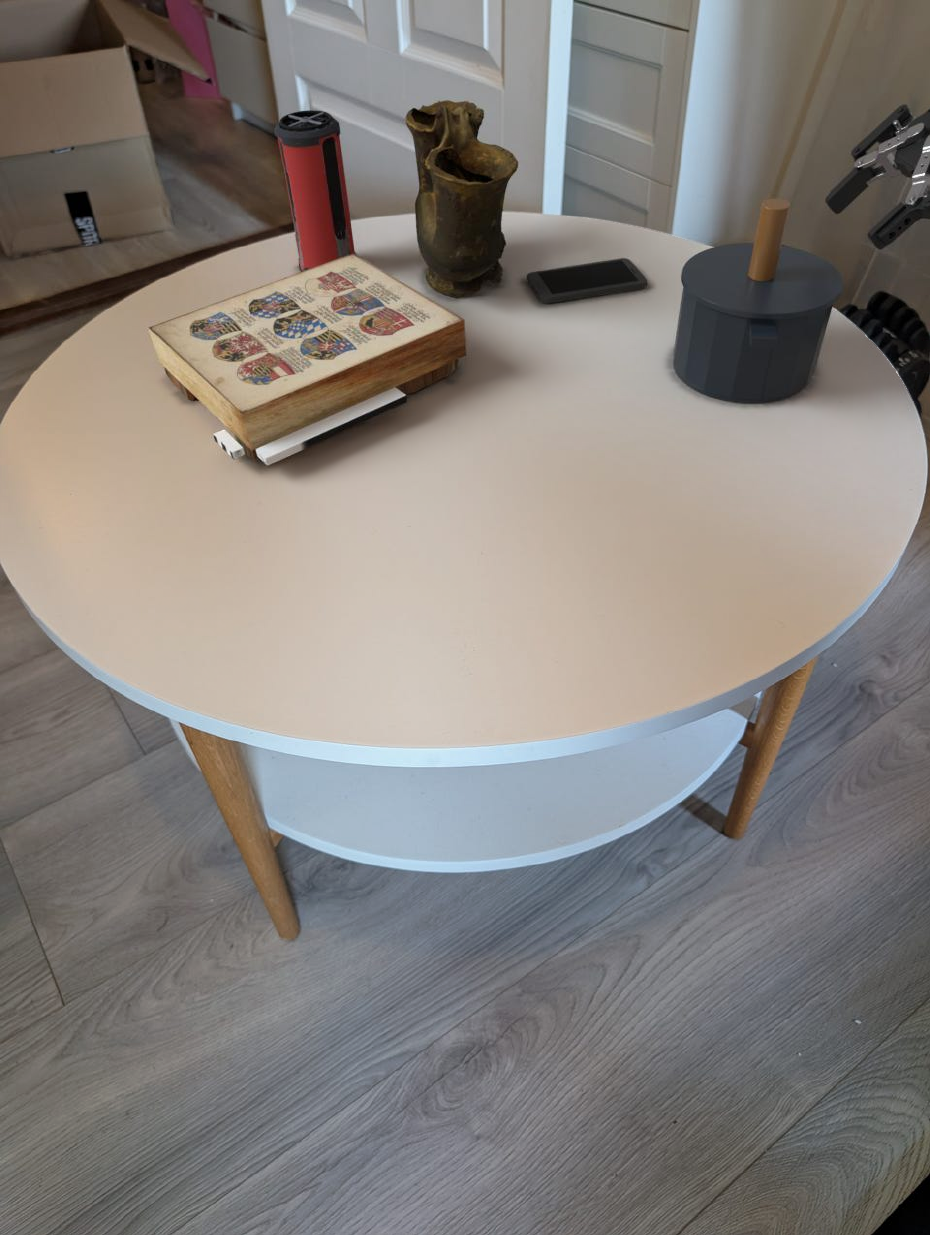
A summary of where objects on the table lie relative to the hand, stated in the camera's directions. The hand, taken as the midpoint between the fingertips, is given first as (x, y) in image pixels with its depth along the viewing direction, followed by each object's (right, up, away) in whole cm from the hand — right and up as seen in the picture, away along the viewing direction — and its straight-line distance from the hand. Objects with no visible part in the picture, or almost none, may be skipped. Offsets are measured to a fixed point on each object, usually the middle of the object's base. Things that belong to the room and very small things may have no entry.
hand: (850, 224), depth 85 cm
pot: (-8, -11, +9) cm, 17 cm away
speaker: (-56, +8, +30) cm, 64 cm away
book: (-54, -13, +11) cm, 57 cm away
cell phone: (-23, +3, +24) cm, 33 cm away
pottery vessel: (-38, +5, +27) cm, 47 cm away
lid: (-8, -5, +3) cm, 10 cm away
